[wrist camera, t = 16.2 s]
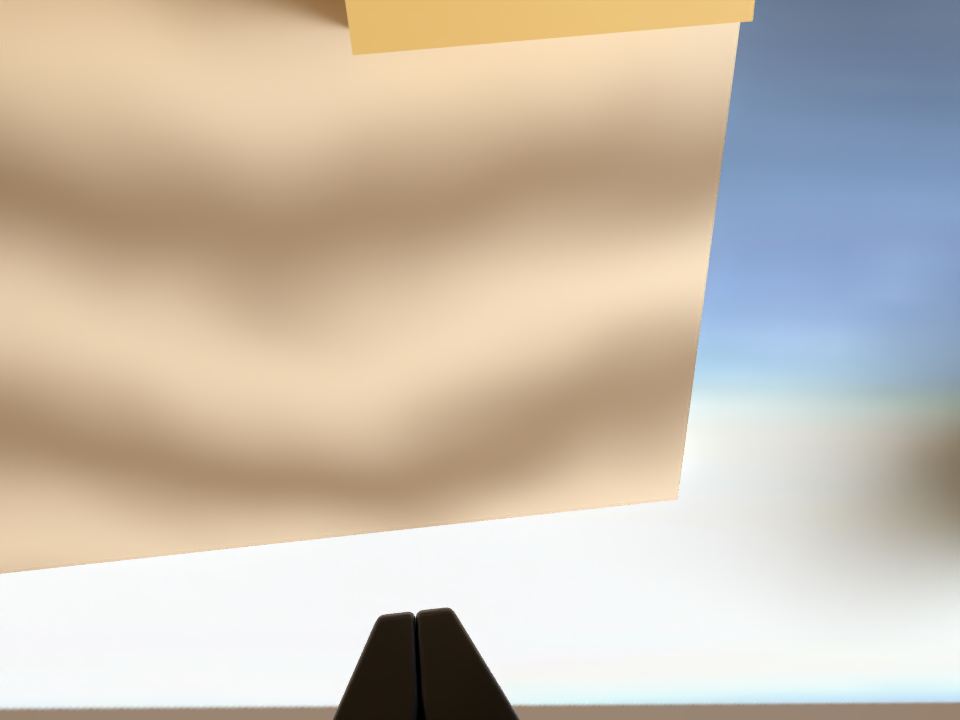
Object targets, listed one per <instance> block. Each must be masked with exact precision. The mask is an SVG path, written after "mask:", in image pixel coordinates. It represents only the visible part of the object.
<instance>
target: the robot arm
mask: <svg viewBox="0 0 960 720" xmlns="http://www.w3.org/2000/svg"><path fill="white" fill-rule="evenodd" d="M333 720H520V719H519V717H518V715H517V714H516V712H515V711H514V709H513V707H512V706H511V704H510V702H509V701H508V699H507V697H506V696H505V694H504V692H503V691H502V689H501V687H500V686H499V684H498V683H497V681H496V679H495V678H494V676H493V674H492V673H491V671H490V669H489V668H488V666H487V665H486V663H485V661H484V660H483V658H482V656H481V655H480V653H479V651H478V650H477V648H476V647H475V645H474V643H473V642H472V640H471V638H470V637H469V635H468V633H467V632H466V630H465V628H464V627H463V625H462V624H461V622H460V620H459V619H458V617H457V615H456V614H455V612H454V611H453V610H452V609H450V608H438V609H429V610H422V611H419V612H418V613H417V615H416V618H415V616H414V614H413V613H411V612H403V613H394V614H385V615H382V616H380V617H379V618H378V619H377V621H376V622H375V624H374V627H373V629H372V631H371V633H370V636H369V638H368V640H367V643H366V645H365V647H364V649H363V652H362V654H361V656H360V658H359V661H358V663H357V665H356V668H355V670H354V672H353V674H352V677H351V679H350V681H349V684H348V686H347V688H346V690H345V693H344V695H343V697H342V699H341V702H340V704H339V706H338V709H337V711H336V713H335V715H334V718H333Z"/></svg>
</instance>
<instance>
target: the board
mask: <svg viewBox="0 0 960 720" xmlns="http://www.w3.org/2000/svg"><path fill="white" fill-rule="evenodd" d="M739 27H740V22H735V23H724V24H712V25H700V26H689V27H677V28H665V29H654V30H642V31H630V32H619V33H607V34H595V35H584V36H572V37H560V38H549V39H537V40H525V41H514V42H502V43H490V44H479V45H467V46H455V47H444V48H432V49H420V50H409V51H397V52H385V53H373V54H362V55H353V54H352V47H351V40H350V33H349V25H348V18H347V11H346V4H345V0H0V574H1V573H11V572H20V571H29V570H38V569H47V568H56V567H65V566H74V565H84V564H93V563H102V562H111V561H120V560H129V559H138V558H147V557H156V556H166V555H175V554H184V553H193V552H202V551H211V550H220V549H229V548H238V547H248V546H257V545H266V544H275V543H284V542H293V541H302V540H311V539H320V538H330V537H339V536H348V535H357V534H366V533H375V532H384V531H393V530H402V529H412V528H421V527H430V526H439V525H448V524H457V523H466V522H475V521H484V520H494V519H503V518H512V517H521V516H530V515H539V514H548V513H557V512H566V511H576V510H585V509H594V508H603V507H612V506H621V505H630V504H639V503H648V502H658V501H667V500H676V499H678V492H679V484H680V477H681V469H682V461H683V454H684V446H685V439H686V431H687V423H688V416H689V408H690V401H691V393H692V385H693V378H694V370H695V362H696V355H697V347H698V340H699V332H700V324H701V317H702V309H703V301H704V294H705V286H706V279H707V271H708V263H709V256H710V248H711V240H712V233H713V225H714V218H715V210H716V202H717V195H718V187H719V179H720V172H721V164H722V157H723V149H724V141H725V134H726V126H727V118H728V111H729V103H730V96H731V88H732V80H733V73H734V65H735V57H736V50H737V42H738V35H739Z"/></svg>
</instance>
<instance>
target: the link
mask: <svg viewBox="0 0 960 720" xmlns="http://www.w3.org/2000/svg"><path fill="white" fill-rule="evenodd" d="M754 3H755V0H345V4H346V11H347V18H348V25H349V33H350V40H351V47H352V54H353V55H362V54H373V53H385V52H397V51H409V50H420V49H432V48H444V47H455V46H467V45H479V44H490V43H502V42H514V41H525V40H537V39H549V38H560V37H572V36H584V35H595V34H607V33H619V32H630V31H642V30H654V29H665V28H677V27H689V26H700V25H712V24H724V23H735V22H747V21H753V12H754Z"/></svg>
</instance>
